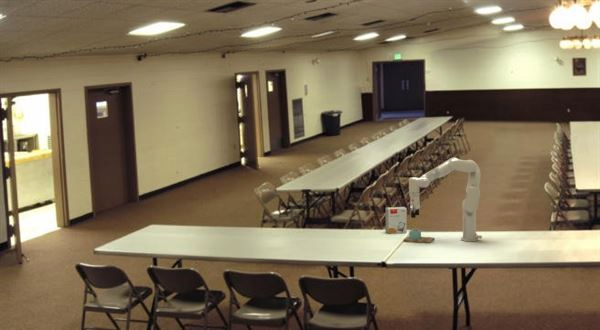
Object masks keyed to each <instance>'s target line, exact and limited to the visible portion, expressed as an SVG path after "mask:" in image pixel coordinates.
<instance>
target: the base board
mask: <svg viewBox="0 0 600 330" xmlns="http://www.w3.org/2000/svg"><path fill="white" fill-rule="evenodd" d="M433 241H435V237H432V236H431V237H430V236H421V238H420V239H419V240H414V239H409V235H408V236H407V237H405V238H404V239H403V243H414V244H428V245H429V244H431V243H432V242H433Z"/></svg>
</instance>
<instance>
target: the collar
mask: <svg viewBox="0 0 600 330" xmlns="http://www.w3.org/2000/svg"><path fill="white" fill-rule="evenodd" d="M408 231H409V232H408V234H409V235H408V236H409V239H414V240H419V239H420V238H421V237H422V230H421V229H411V230H408Z"/></svg>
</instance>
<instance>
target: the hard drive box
mask: <svg viewBox="0 0 600 330" xmlns="http://www.w3.org/2000/svg"><path fill="white" fill-rule="evenodd" d="M407 211H408V210H407V207H405V206H395V207H394V206H393V207H392V206H391V207H385V232H386V233H387V234H388V235H389V233H393V234H406V233H405V232H407V231H408V229H407V227H408V226H407V223H408V222H407V219H408V218H407V215H408V214H407Z"/></svg>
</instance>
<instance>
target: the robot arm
mask: <svg viewBox="0 0 600 330" xmlns="http://www.w3.org/2000/svg"><path fill="white" fill-rule="evenodd" d="M453 171H457V172H462V173H463V172H464V173H468V179H467V184H466V188H465V192H466V195H465V198H464V199H463V200H462V205H461V207H462V208H461V209H462V237H460V240H461V241H463V242H477V241H479V239H482V238H483V236H482V235H478V233H477V214H476V213H477V212H476V211H477V210H478V207H479V201H480V198H481V189H480V183H481V176H482V173H481V169H480V166H479V164H478V163H476V162H475V160H472V159H467V160H465V159H460V158H457V157H456V156H454V157H451V158H449V159H448V160H446V161H444V162H442V163H441V164H439V165H438V166H436V167H434V168H432V169H431V170H429V171H428V172H426V173H424V174H423V175H421V176H420V177H416V176H414V177H412V176H411V177H409V178H408V190H409V191H408V195H409V197H410V201H409V205H410V206H409V207H410V218H412V219H413V218H414V219H415V218H416V216H420V207H421V203H420V202H421V201H420V188H428V187H429V185H430V184H431V182H433V181H434V180H437V179H439V178H442V177H443V178H444V177H446V176H447V175H448V174H450V173H451V172H453Z"/></svg>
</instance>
